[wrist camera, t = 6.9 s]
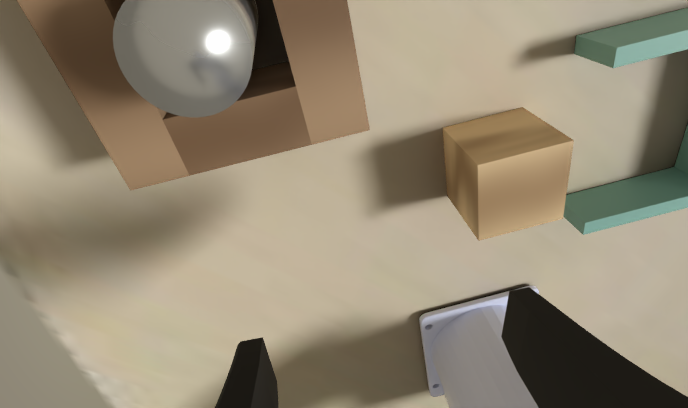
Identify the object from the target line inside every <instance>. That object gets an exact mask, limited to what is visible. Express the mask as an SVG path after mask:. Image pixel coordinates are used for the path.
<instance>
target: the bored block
mask: <svg viewBox="0 0 688 408" xmlns="http://www.w3.org/2000/svg"><path fill="white" fill-rule="evenodd" d="M17 2H18V3H19V5H20V7H21V8H22V10H23V12H24V13H25V15H26V17H27V18H28V20H29V22H30V23H31V25H32V27H33V28H34V30H35V32H36V33H37V35H38V37H39V38H40V40H41V42H42V43H43V45H44V47H45V48H46V50H47V52H48V53H49V55H50V57H51V58H52V60H53V62H54V63H55V65H56V67H57V68H58V70H59V72H60V73H61V75H62V77H63V78H64V80H65V82H66V83H67V85H68V87H69V88H70V90H71V92H72V93H73V95H74V97H75V98H76V100H77V102H78V103H79V105H80V107H81V108H82V110H83V112H84V113H85V115H86V117H87V118H88V120H89V122H90V124H91V125H92V127H93V129H94V130H95V132H96V134H97V135H98V137H99V139H100V140H101V142H102V144H103V145H104V147H105V149H106V150H107V152H108V154H109V155H110V157H111V159H112V160H113V162H114V164H115V165H116V167H117V169H118V170H119V172H120V174H121V175H122V177H123V179H124V180H125V182H126V184H127V185H128V187H129V189H130V190H134V189H138V188H142V187H146V186H150V185H154V184H158V183H162V182H166V181H170V180H174V179H178V178H182V177H186V176H190V175H193V174H197V173H201V172H205V171H209V170H213V169H217V168H221V167H225V166H229V165H233V164H237V163H241V162H245V161H249V160H253V159H257V158H261V157H265V156H269V155H272V154H276V153H280V152H284V151H288V150H292V149H296V148H300V147H304V146H308V145H312V144H316V143H320V142H324V141H328V140H332V139H336V138H340V137H344V136H348V135H351V134H355V133H359V132H363V131H367V130H370V129H369V123H368V117H367V112H366V106H365V100H364V95H363V89H362V83H361V78H360V72H359V66H358V61H357V55H356V49H355V43H354V38H353V32H352V26H351V21H350V15H349V9H348V4H347V0H273V3H274V7H275V11H276V14H277V18H278V22H279V26H280V29H281V33H282V37H283V40H284V44H285V48H286V51H287V55H288V59H289V61H288V62H284V63H280V64H276V65H272V66H268V67H264V68H260V69H256V70H252V71H251V76H250V79H249V82H248V85H247V87H246V89H245V90H244V92H243V94H242V95H241V96H240V98H239V99H238V100H237V101H236V102H235V103H234V104H233V105H231V106H230V107H229V108H227V109H225V110H223V111H222V112H219V113H217V114H214V115H210V116H206V117H183V116H178V115H174V114H171V113H168V112H166V111H163V110H161V109H159V108H157V107H156V106H154V105H152V104H151V103H149V102H148V101H147V100H145V99H144V98H143V97H142V96H140V95H139V94H138V93H137V92H136V91H135V90H134V88H133V87H132V86H131V85H130V84H129V82H128V81H127V79H126V78H125V76H124V75H123V73H122V71H121V69H120V67H119V64H118V62H117V59H116V56H115V51H114V46H113V28H114V23H115V19H116V16H117V14H118V11H119V9H120V8H121V6H122V4H123V3H124V2H125V0H17Z"/></svg>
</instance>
